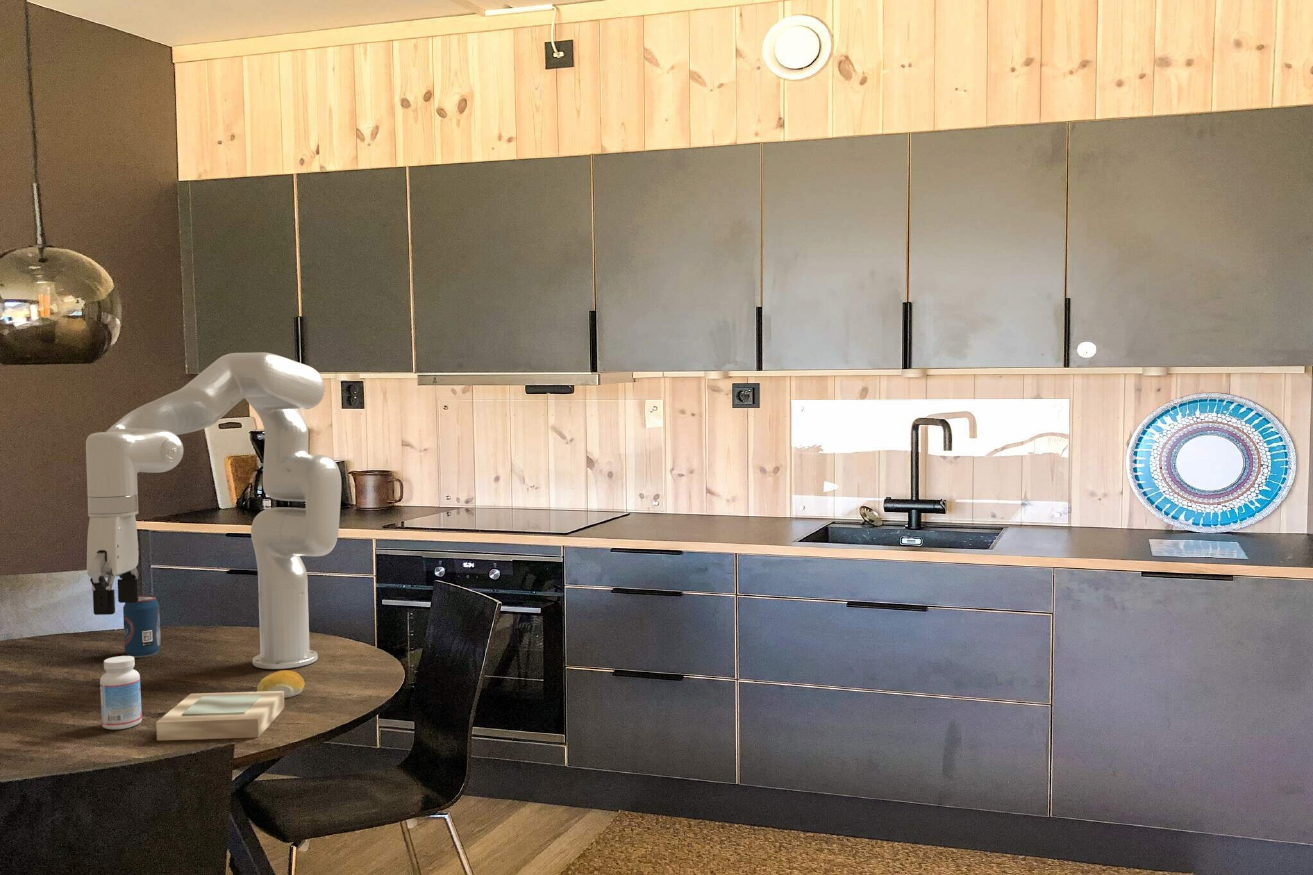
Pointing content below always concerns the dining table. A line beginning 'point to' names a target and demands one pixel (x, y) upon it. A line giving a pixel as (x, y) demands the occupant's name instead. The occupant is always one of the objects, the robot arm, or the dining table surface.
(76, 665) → the dining table surface
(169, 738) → the birch plinth
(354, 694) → the dining table surface
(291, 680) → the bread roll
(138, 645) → the soda can
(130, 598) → the robot arm
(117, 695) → the pill bottle
